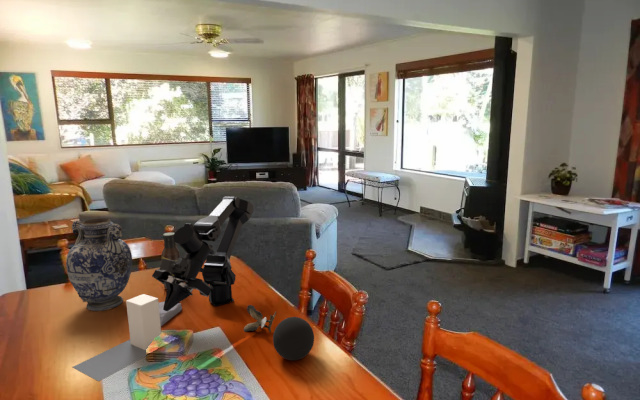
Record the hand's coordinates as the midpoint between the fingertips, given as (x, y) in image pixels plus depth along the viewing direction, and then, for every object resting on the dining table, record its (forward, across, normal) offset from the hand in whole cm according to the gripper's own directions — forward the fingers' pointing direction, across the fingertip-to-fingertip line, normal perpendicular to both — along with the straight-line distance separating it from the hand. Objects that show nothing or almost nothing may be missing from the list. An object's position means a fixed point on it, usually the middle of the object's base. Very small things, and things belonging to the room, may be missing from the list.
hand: (165, 310), depth 112 cm
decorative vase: (+3, -35, +8) cm, 36 cm away
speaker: (-1, +37, +11) cm, 38 cm away
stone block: (+2, -11, +9) cm, 14 cm away
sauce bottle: (-12, -28, +22) cm, 38 cm away
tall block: (+9, 0, 0) cm, 9 cm away
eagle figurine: (-5, +20, +16) cm, 26 cm away
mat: (+13, 0, -3) cm, 13 cm away
